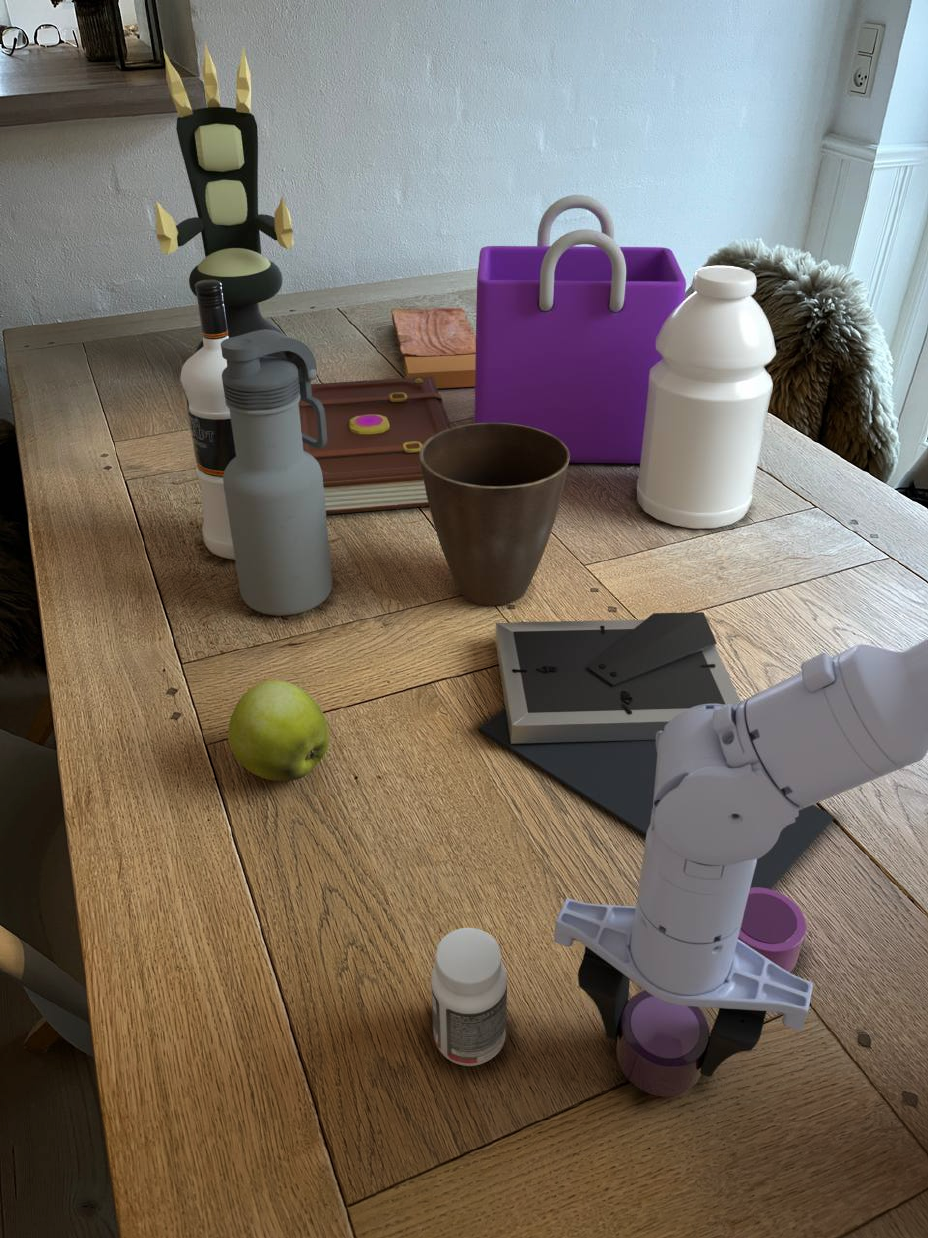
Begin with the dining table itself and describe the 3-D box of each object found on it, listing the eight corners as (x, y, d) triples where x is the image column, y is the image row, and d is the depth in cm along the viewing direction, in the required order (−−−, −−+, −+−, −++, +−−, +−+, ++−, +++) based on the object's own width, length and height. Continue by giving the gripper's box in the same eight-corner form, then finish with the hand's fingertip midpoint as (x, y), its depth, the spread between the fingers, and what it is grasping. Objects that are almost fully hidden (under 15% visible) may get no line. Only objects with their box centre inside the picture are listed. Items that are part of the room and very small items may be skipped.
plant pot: (406, 564, 112) (400, 433, 103) (528, 541, 117) (533, 412, 107) (450, 639, 101) (448, 498, 92) (584, 610, 105) (595, 472, 96)
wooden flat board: (406, 391, 153) (405, 371, 151) (391, 326, 177) (390, 307, 175) (490, 387, 154) (490, 366, 153) (464, 322, 179) (464, 304, 177)
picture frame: (699, 635, 101) (494, 639, 100) (703, 612, 100) (495, 616, 99) (745, 737, 88) (510, 744, 87) (750, 712, 87) (512, 718, 85)
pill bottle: (520, 1032, 65) (524, 952, 61) (471, 1083, 63) (471, 1003, 58) (467, 989, 68) (467, 909, 63) (418, 1036, 65) (414, 955, 60)
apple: (280, 720, 91) (270, 649, 86) (352, 764, 86) (345, 692, 81) (212, 766, 86) (197, 694, 81) (284, 816, 81) (273, 742, 77)
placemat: (833, 819, 81) (834, 816, 81) (755, 906, 74) (756, 903, 73) (564, 670, 97) (564, 667, 96) (478, 730, 90) (478, 727, 89)
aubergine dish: (719, 1055, 63) (727, 1025, 62) (670, 1115, 60) (677, 1085, 58) (649, 1002, 67) (654, 972, 65) (599, 1057, 63) (603, 1026, 62)
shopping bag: (482, 481, 129) (483, 239, 112) (456, 413, 147) (454, 195, 129) (691, 465, 133) (724, 228, 115) (641, 400, 150) (664, 186, 133)
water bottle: (299, 558, 114) (271, 312, 98) (354, 591, 108) (334, 337, 92) (223, 593, 108) (180, 338, 92) (276, 630, 102) (241, 365, 86)
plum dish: (811, 946, 71) (821, 916, 69) (772, 995, 68) (781, 965, 66) (744, 903, 74) (751, 874, 72) (704, 948, 71) (710, 918, 69)
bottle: (671, 540, 117) (704, 299, 101) (614, 488, 127) (636, 262, 111) (773, 518, 121) (820, 283, 105) (709, 469, 131) (743, 250, 115)
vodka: (281, 562, 113) (247, 295, 96) (198, 564, 113) (150, 296, 95) (289, 521, 120) (260, 267, 103) (212, 523, 120) (169, 268, 103)
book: (434, 403, 149) (433, 371, 146) (470, 504, 124) (470, 467, 121) (280, 413, 146) (276, 381, 143) (284, 519, 121) (280, 482, 118)
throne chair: (183, 396, 152) (124, 57, 126) (186, 346, 169) (135, 39, 144) (308, 386, 155) (276, 53, 129) (298, 338, 173) (268, 36, 147)
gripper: (837, 890, 55) (791, 1033, 63) (587, 812, 60) (573, 953, 68) (819, 993, 50) (771, 1135, 58) (546, 898, 55) (536, 1041, 63)
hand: (662, 1043), depth 63 cm, fingers closed on aubergine dish, 5 cm apart
